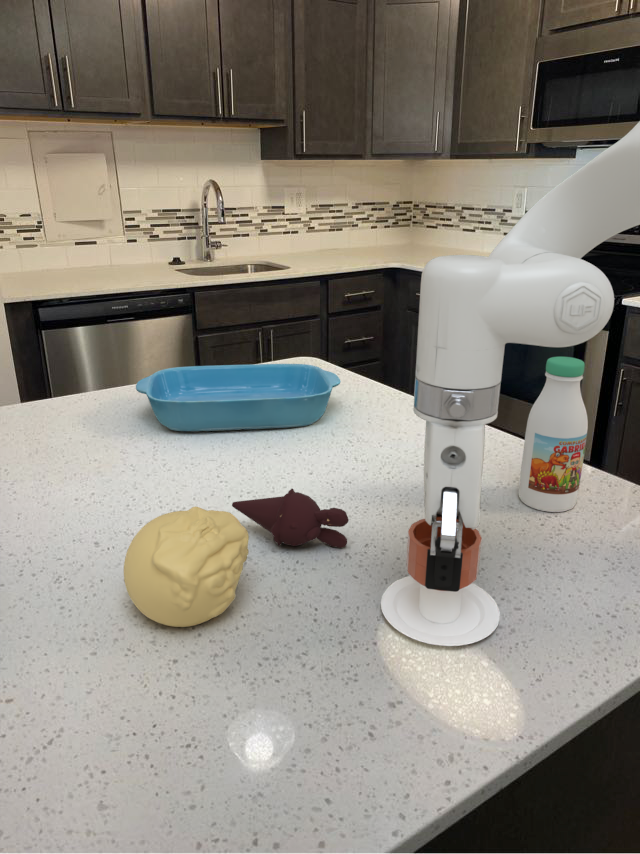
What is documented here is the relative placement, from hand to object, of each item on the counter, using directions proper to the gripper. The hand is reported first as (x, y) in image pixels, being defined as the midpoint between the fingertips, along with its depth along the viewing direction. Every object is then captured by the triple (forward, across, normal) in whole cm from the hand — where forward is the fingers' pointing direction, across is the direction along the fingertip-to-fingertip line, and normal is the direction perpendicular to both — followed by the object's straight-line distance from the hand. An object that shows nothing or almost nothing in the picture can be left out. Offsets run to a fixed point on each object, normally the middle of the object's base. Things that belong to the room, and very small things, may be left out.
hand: (442, 564), depth 66 cm
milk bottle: (+6, +28, -14) cm, 32 cm away
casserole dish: (+6, +53, +37) cm, 65 cm away
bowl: (+1, 0, 0) cm, 1 cm away
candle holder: (+6, 0, 0) cm, 6 cm away
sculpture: (+6, -4, +26) cm, 27 cm away
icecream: (+6, +11, +18) cm, 22 cm away
